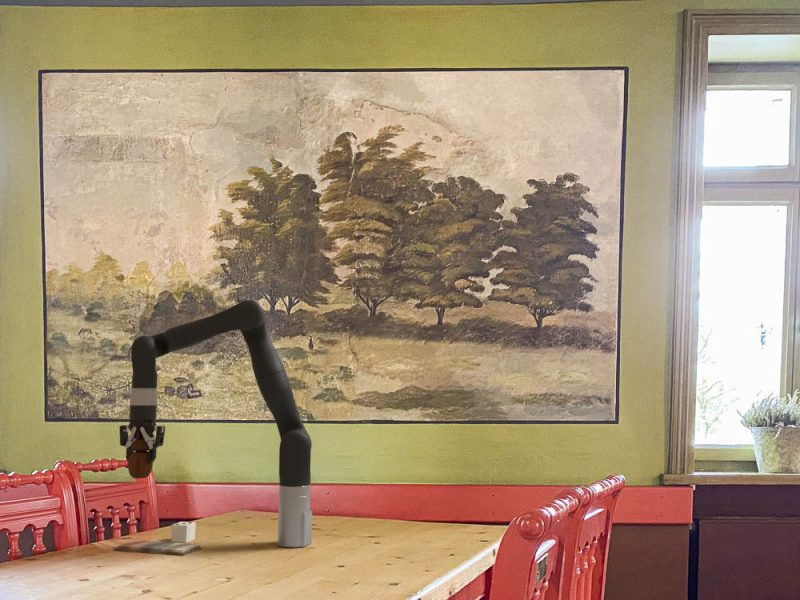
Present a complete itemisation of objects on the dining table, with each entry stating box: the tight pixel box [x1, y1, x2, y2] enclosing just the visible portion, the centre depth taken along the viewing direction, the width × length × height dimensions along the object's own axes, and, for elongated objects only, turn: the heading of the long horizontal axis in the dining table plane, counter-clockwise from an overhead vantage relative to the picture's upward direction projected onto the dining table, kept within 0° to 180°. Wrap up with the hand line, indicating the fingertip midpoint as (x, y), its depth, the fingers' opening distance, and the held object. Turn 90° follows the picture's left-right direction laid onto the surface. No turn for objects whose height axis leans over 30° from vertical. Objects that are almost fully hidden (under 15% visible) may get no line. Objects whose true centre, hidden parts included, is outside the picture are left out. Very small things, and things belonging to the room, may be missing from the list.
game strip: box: [113, 539, 201, 557], centre depth 195 cm, size 22×9×1 cm, turn 77°
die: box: [170, 521, 196, 543], centre depth 206 cm, size 5×5×5 cm
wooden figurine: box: [127, 426, 154, 479], centre depth 200 cm, size 7×6×15 cm
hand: (140, 461), depth 199 cm, fingers closed on wooden figurine, 6 cm apart
